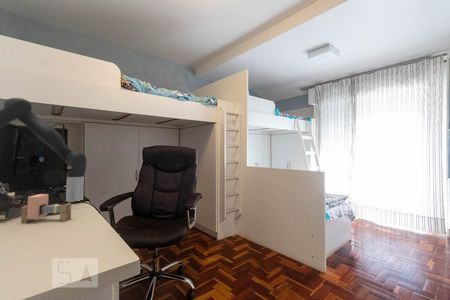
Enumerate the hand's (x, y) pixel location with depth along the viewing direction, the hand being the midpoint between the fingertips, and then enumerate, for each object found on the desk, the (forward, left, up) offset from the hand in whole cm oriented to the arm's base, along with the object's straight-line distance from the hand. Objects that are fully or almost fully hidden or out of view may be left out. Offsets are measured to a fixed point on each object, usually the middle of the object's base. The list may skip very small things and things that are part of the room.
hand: (9, 200), depth 97 cm
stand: (0, +16, -10) cm, 19 cm away
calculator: (-12, +7, -10) cm, 17 cm away
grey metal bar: (0, +16, -6) cm, 17 cm away
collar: (0, +12, -8) cm, 15 cm away
